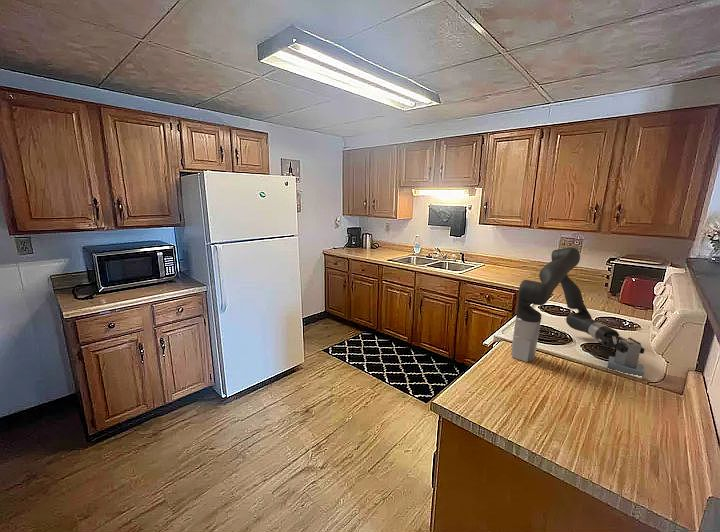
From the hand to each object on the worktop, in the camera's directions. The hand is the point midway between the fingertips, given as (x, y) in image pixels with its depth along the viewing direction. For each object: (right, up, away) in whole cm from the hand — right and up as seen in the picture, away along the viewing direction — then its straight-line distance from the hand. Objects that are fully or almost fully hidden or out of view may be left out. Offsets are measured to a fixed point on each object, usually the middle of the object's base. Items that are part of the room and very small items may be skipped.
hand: (633, 351), depth 128 cm
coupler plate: (0, -8, +4) cm, 9 cm away
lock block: (0, -7, +4) cm, 8 cm away
